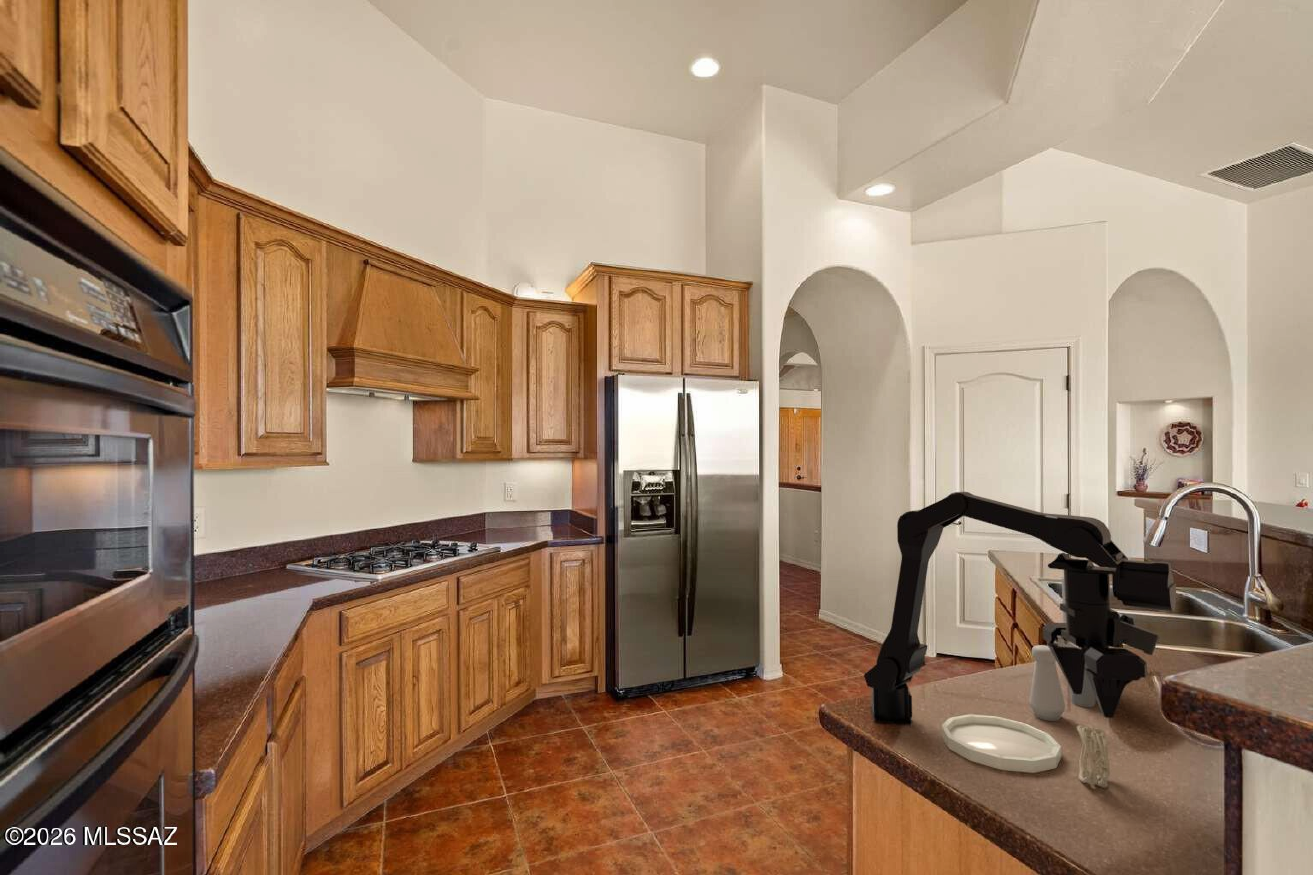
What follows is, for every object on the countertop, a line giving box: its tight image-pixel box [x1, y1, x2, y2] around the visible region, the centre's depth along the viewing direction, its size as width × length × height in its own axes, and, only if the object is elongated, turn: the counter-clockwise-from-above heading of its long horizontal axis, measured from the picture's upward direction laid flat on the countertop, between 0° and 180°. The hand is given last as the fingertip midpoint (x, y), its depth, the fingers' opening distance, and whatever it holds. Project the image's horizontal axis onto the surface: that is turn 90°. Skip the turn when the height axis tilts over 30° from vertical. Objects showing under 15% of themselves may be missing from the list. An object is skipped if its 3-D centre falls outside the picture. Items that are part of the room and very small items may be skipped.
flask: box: [1061, 576, 1097, 708], centre depth 127 cm, size 17×5×25 cm, turn 150°
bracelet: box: [1076, 725, 1111, 788], centre depth 91 cm, size 4×8×8 cm, turn 148°
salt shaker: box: [1028, 644, 1066, 722], centre depth 115 cm, size 6×6×13 cm
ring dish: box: [941, 713, 1062, 774], centre depth 103 cm, size 17×17×2 cm
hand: (1092, 704), depth 92 cm, fingers open, 9 cm apart
